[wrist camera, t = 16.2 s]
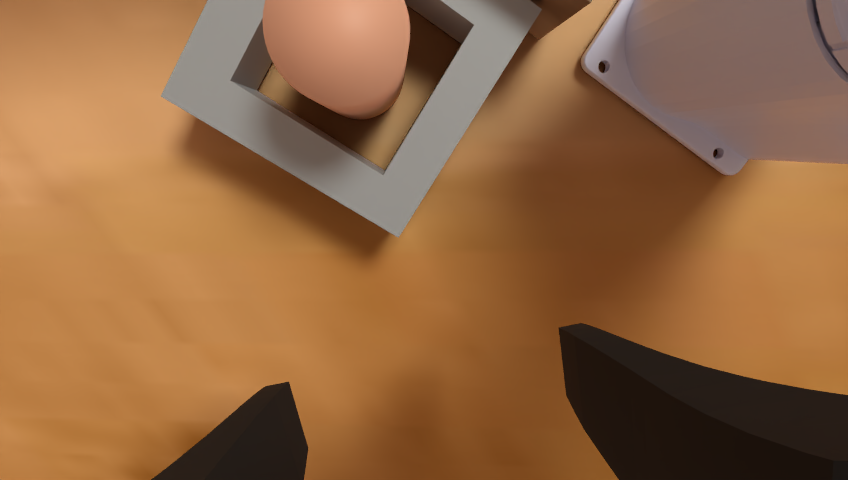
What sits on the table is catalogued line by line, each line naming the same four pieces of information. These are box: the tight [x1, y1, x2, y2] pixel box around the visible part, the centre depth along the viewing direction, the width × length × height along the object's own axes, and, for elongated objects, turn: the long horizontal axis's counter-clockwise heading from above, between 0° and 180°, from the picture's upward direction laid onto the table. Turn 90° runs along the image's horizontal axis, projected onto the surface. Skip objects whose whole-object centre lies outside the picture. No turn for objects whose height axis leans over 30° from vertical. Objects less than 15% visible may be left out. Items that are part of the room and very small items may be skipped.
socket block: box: [161, 0, 542, 238], centre depth 17 cm, size 10×10×3 cm
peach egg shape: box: [263, 0, 410, 119], centre depth 15 cm, size 4×4×7 cm
